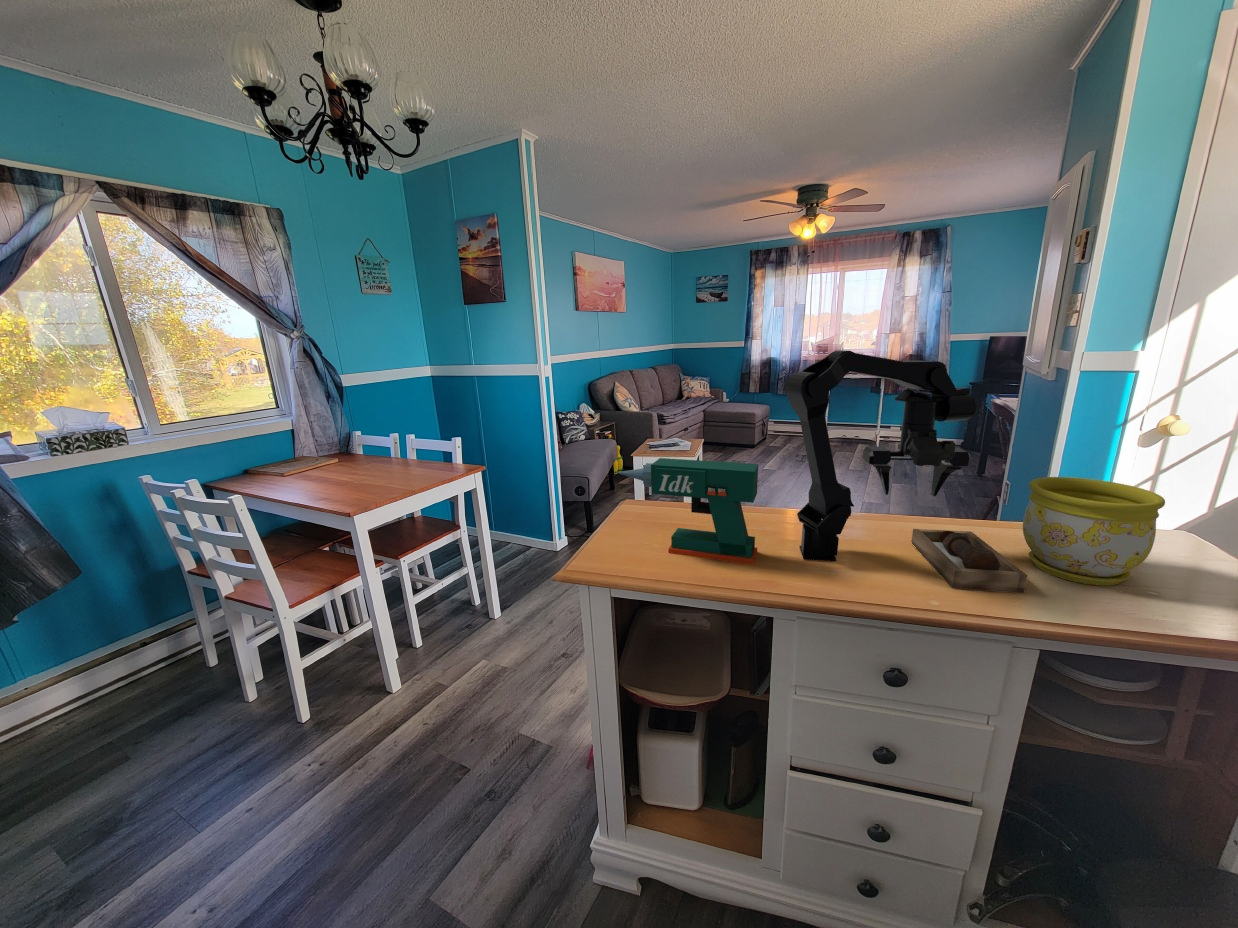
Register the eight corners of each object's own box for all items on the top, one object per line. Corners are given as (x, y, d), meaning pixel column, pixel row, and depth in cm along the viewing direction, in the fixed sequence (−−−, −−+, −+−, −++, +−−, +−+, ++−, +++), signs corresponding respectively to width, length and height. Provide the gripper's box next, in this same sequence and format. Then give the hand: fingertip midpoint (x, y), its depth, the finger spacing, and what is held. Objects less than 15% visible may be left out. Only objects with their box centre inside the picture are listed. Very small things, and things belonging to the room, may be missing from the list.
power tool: (611, 546, 110) (608, 462, 106) (622, 535, 117) (620, 455, 112) (753, 565, 99) (757, 472, 94) (757, 552, 105) (760, 464, 100)
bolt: (949, 553, 102) (985, 584, 88) (927, 541, 103) (960, 570, 88) (967, 531, 101) (1007, 560, 86) (945, 519, 101) (981, 545, 87)
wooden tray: (952, 588, 87) (954, 570, 86) (911, 543, 107) (913, 528, 106) (1024, 593, 85) (1027, 575, 84) (968, 546, 104) (971, 531, 103)
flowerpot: (1122, 561, 95) (1141, 482, 91) (1162, 603, 80) (1187, 511, 76) (1008, 544, 104) (1021, 472, 100) (1024, 579, 89) (1040, 496, 85)
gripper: (881, 429, 93) (873, 505, 96) (990, 430, 89) (978, 509, 92) (865, 420, 103) (858, 489, 107) (962, 420, 99) (952, 492, 103)
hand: (909, 494), depth 102 cm, fingers open, 9 cm apart
